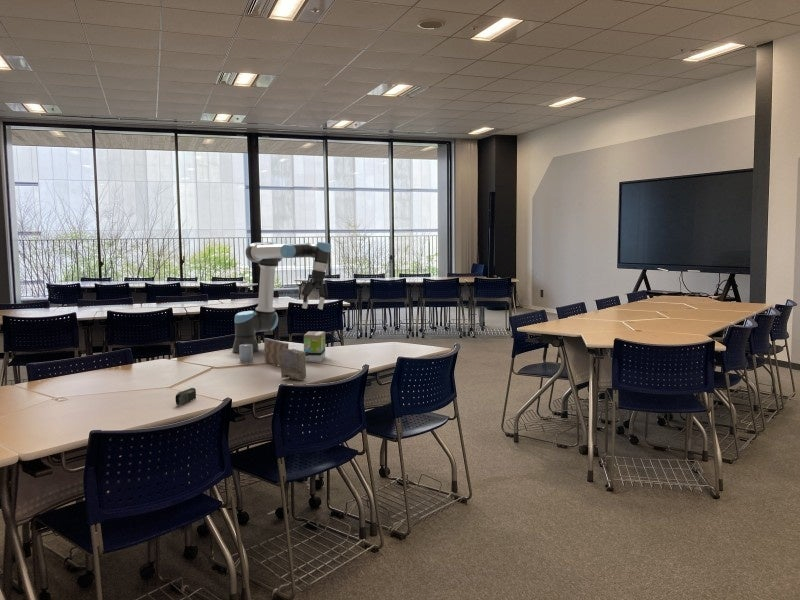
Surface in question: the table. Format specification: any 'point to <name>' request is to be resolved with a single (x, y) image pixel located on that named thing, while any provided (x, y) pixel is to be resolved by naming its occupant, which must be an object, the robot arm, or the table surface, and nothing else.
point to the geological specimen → (293, 364)
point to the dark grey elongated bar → (185, 396)
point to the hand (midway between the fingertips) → (312, 308)
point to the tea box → (314, 346)
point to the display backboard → (274, 350)
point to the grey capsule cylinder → (246, 352)
